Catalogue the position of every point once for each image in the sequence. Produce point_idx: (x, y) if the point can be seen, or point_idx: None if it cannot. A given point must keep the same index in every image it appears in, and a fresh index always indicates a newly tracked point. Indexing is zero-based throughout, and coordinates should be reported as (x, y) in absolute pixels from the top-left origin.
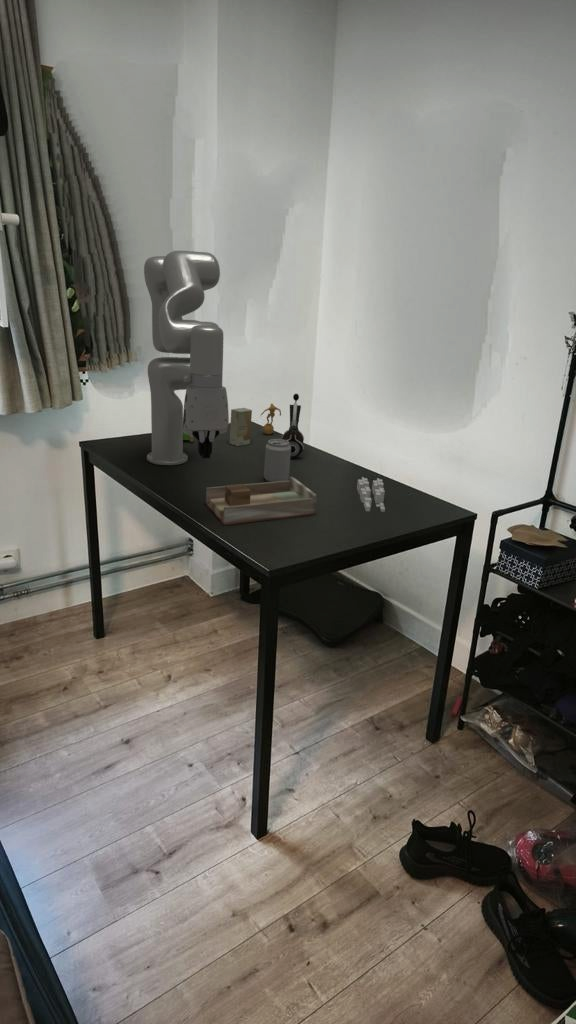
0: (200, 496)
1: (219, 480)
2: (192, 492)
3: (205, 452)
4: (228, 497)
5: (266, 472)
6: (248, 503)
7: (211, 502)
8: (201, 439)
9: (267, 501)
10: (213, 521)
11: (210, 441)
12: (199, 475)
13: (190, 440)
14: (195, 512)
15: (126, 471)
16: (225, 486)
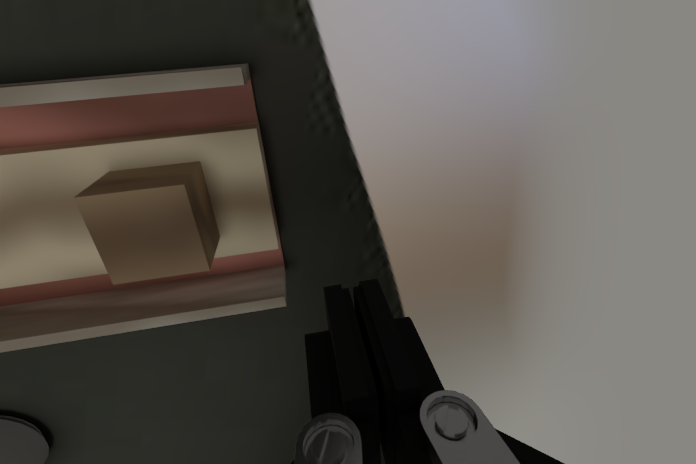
0: (291, 324)
1: (211, 427)
2: None
3: (375, 311)
4: (204, 209)
5: (24, 458)
6: (112, 173)
7: (275, 229)
8: (464, 426)
9: (14, 203)
10: (286, 111)
11: (341, 419)
12: (267, 452)
13: None
14: (335, 203)
15: None
16: (209, 265)
